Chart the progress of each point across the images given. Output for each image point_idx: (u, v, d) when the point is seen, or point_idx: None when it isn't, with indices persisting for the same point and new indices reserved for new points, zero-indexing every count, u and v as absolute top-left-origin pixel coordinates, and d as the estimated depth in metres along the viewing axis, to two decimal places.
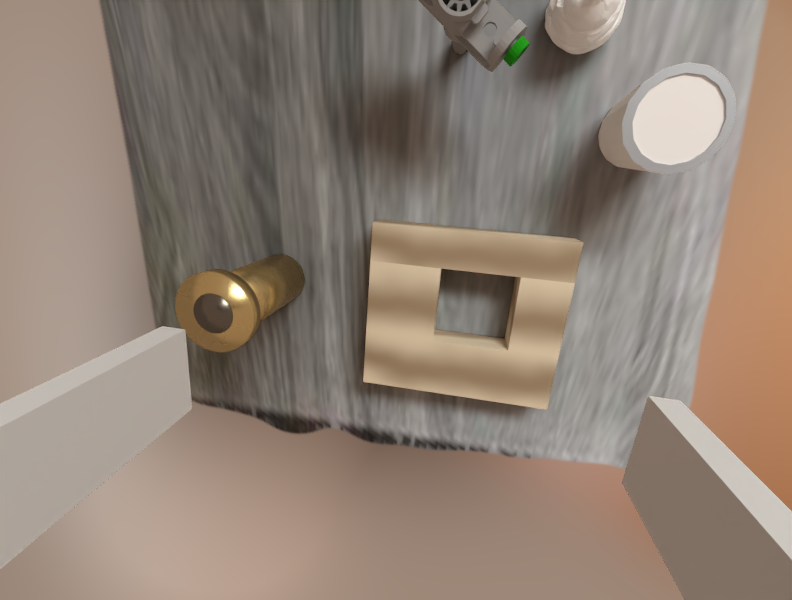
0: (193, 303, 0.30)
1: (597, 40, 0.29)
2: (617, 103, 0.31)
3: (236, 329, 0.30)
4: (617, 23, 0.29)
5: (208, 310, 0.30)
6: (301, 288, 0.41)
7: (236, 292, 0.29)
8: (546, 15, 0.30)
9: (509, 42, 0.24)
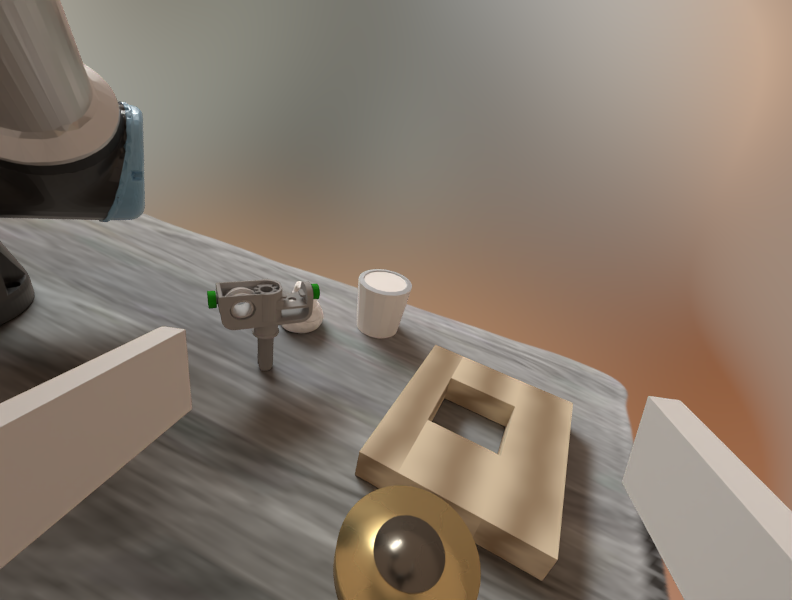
0: (380, 579, 0.16)
1: (321, 310, 0.50)
2: (358, 319, 0.51)
3: (444, 528, 0.18)
4: None
5: (401, 558, 0.17)
6: None
7: (390, 494, 0.19)
8: (289, 325, 0.48)
9: (310, 285, 0.40)
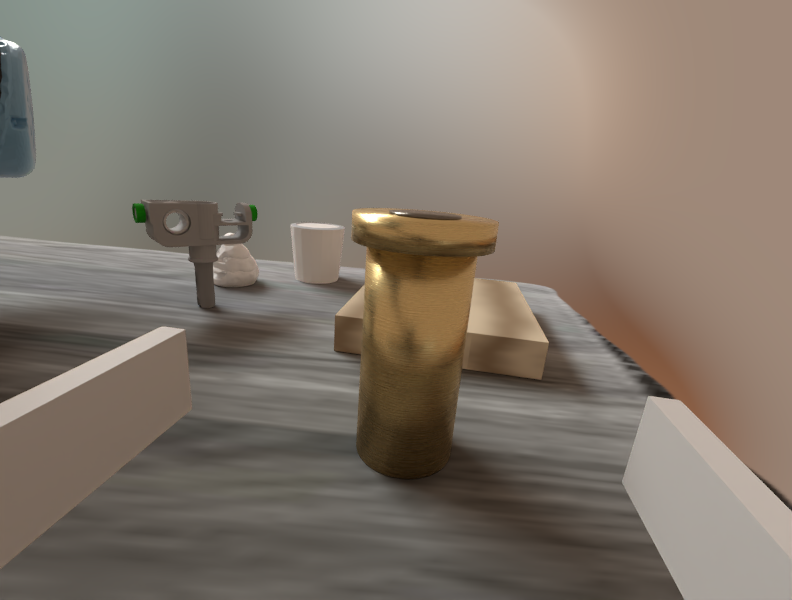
0: (407, 216, 0.16)
1: None
2: (297, 269, 0.50)
3: None
4: None
5: None
6: None
7: (390, 209, 0.20)
8: (224, 277, 0.45)
9: (245, 203, 0.39)
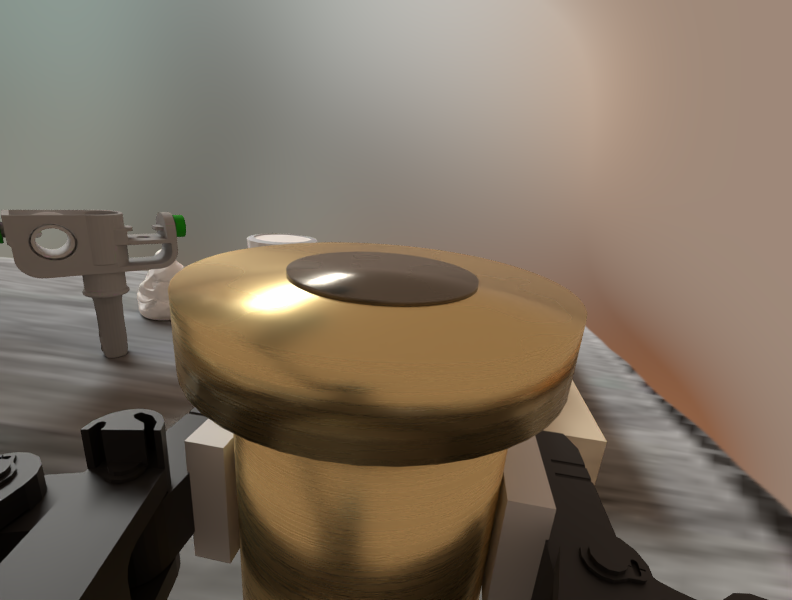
0: (317, 296, 0.05)
1: None
2: None
3: (448, 261, 0.08)
4: None
5: (367, 280, 0.06)
6: None
7: (316, 246, 0.09)
8: (152, 308, 0.34)
9: (168, 213, 0.28)
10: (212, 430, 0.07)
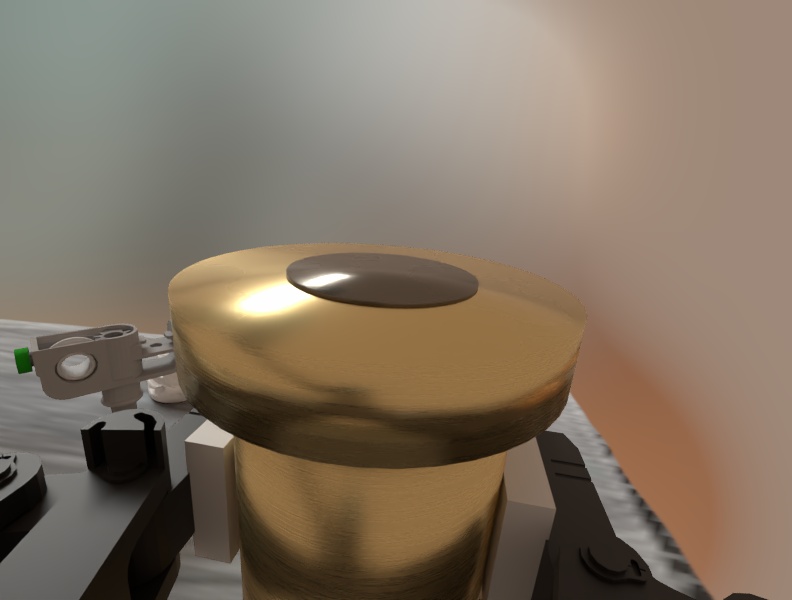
0: (317, 298, 0.05)
1: None
2: None
3: (448, 263, 0.08)
4: None
5: (367, 282, 0.06)
6: None
7: (316, 247, 0.09)
8: (162, 394, 0.36)
9: None
10: (212, 430, 0.07)
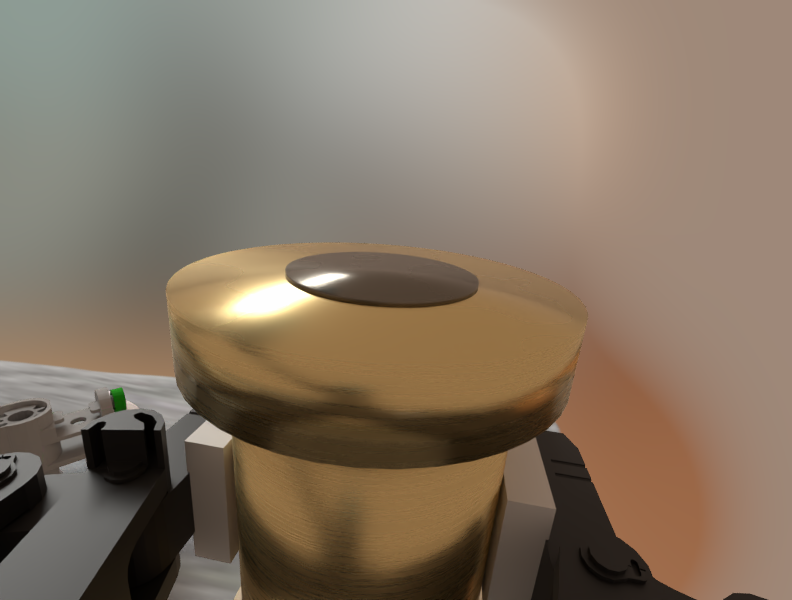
0: (316, 297, 0.05)
1: None
2: None
3: (448, 262, 0.08)
4: None
5: (366, 281, 0.06)
6: None
7: (315, 246, 0.09)
8: None
9: (106, 391, 0.26)
10: (212, 430, 0.07)
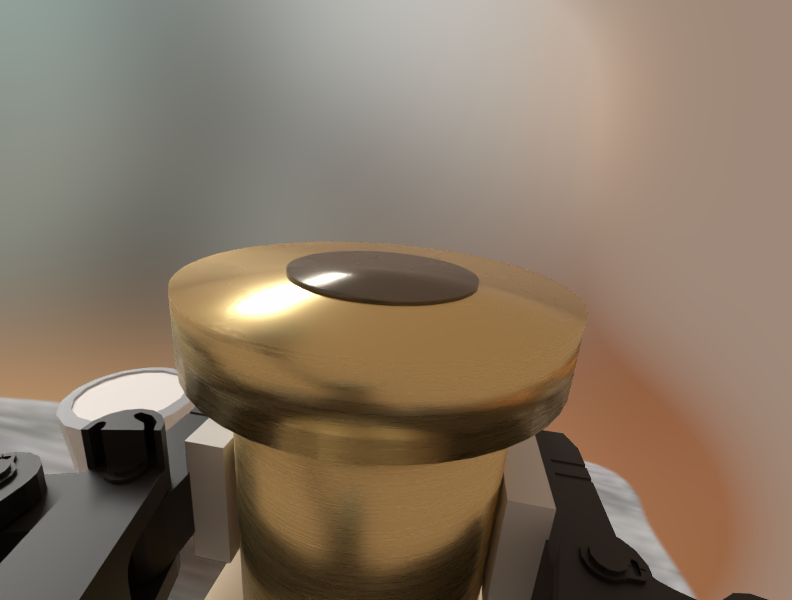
0: (317, 295, 0.05)
1: None
2: None
3: (448, 261, 0.08)
4: None
5: (367, 280, 0.06)
6: None
7: (316, 245, 0.09)
8: None
9: None
10: (212, 430, 0.07)
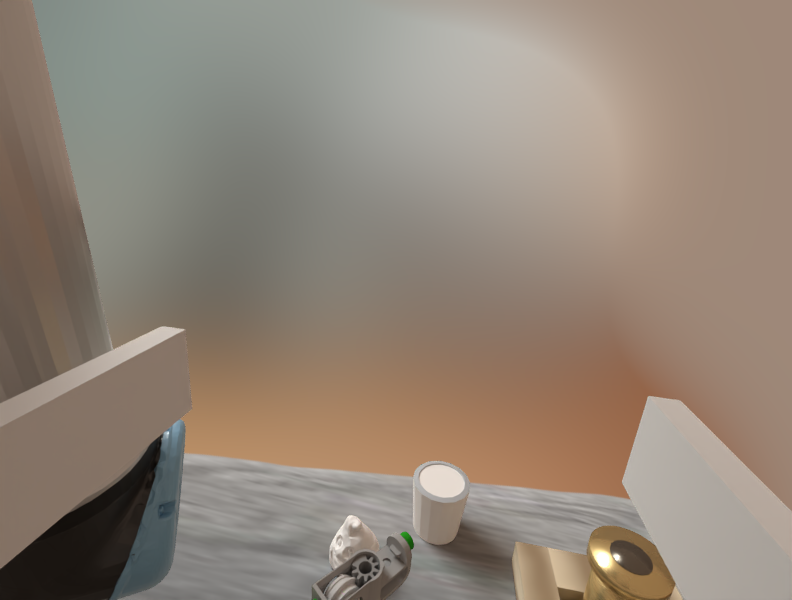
0: (631, 573, 0.32)
1: None
2: (419, 528, 0.47)
3: (634, 541, 0.35)
4: None
5: (630, 561, 0.33)
6: None
7: (599, 534, 0.35)
8: None
9: (403, 539, 0.36)
10: None
